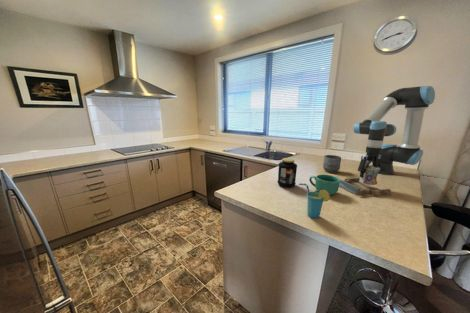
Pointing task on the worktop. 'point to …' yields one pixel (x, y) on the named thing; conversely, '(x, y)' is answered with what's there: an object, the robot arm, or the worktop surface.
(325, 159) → the planter
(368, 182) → the mug
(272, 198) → the worktop surface
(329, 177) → the mug
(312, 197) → the cup
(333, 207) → the worktop surface
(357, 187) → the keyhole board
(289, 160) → the container
